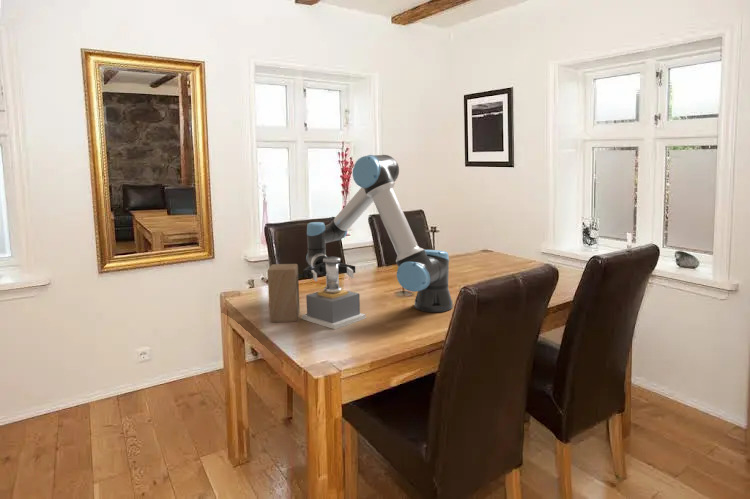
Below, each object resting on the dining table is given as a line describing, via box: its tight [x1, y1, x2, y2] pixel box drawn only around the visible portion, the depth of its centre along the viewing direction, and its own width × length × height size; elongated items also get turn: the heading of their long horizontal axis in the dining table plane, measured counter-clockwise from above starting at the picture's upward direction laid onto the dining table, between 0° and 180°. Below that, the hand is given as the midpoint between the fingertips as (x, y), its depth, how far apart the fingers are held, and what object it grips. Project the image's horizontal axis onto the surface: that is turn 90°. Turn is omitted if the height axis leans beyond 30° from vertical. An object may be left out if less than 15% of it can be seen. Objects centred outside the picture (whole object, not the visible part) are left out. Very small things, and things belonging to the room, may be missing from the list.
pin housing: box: [301, 288, 367, 330], centre depth 198 cm, size 18×16×10 cm
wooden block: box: [267, 263, 301, 323], centre depth 199 cm, size 10×10×20 cm
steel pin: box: [323, 256, 342, 294], centre depth 197 cm, size 6×6×20 cm
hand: (334, 275), depth 193 cm, fingers open, 13 cm apart
